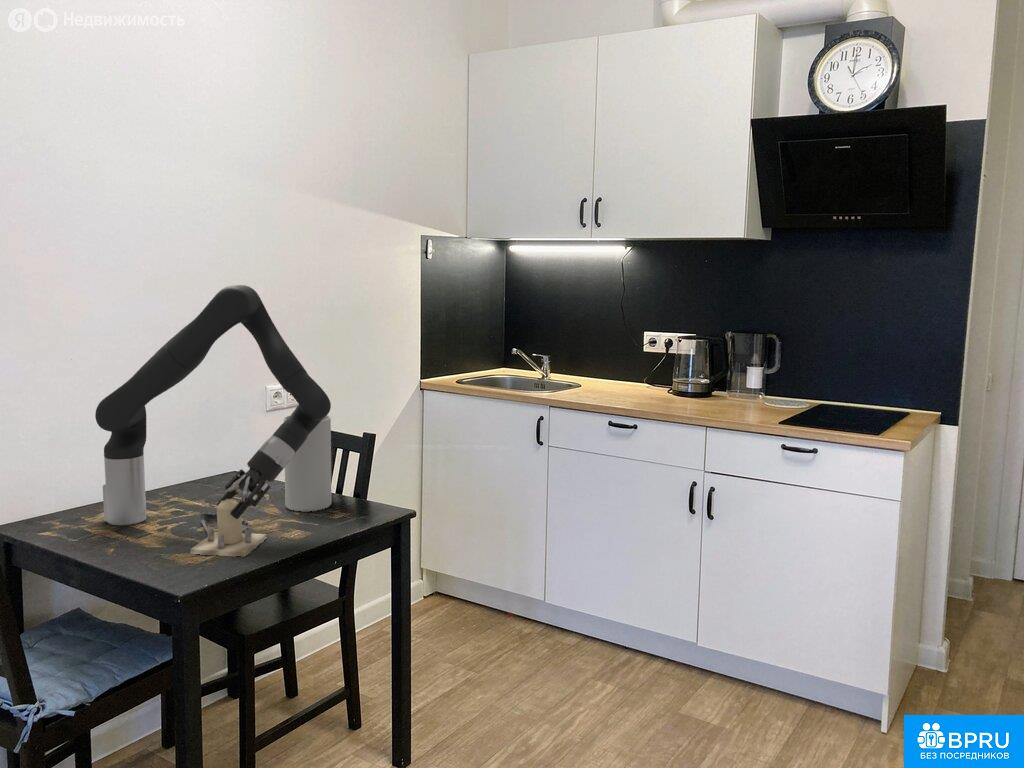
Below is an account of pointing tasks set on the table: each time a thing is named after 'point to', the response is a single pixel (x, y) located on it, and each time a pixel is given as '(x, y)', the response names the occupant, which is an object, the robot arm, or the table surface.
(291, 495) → the cylinder vase
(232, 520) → the candle
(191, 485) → the table surface
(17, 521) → the table surface
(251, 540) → the candle plate
